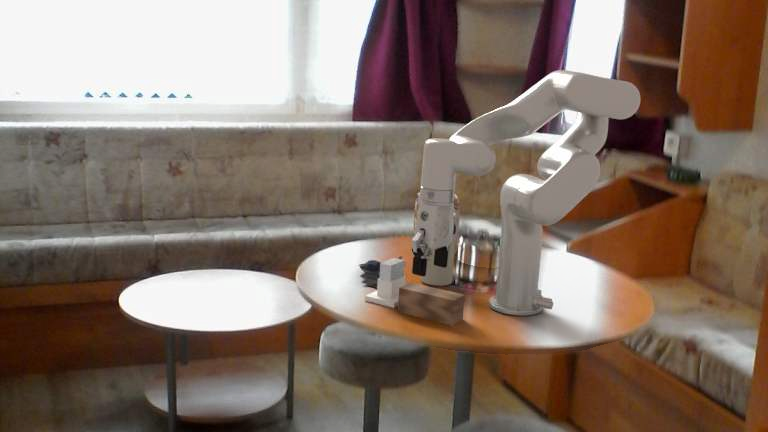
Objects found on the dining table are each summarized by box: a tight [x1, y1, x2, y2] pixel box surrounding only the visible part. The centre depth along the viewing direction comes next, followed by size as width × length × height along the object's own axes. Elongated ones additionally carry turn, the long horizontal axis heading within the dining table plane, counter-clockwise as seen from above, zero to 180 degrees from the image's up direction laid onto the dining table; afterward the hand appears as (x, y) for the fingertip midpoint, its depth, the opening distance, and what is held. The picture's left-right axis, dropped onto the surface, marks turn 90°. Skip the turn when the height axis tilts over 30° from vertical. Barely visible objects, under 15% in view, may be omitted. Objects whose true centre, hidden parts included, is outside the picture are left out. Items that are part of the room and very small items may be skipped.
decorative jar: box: [412, 191, 461, 255], centre depth 251 cm, size 12×12×18 cm
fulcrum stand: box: [364, 257, 406, 309], centre depth 206 cm, size 8×10×9 cm
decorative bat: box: [358, 255, 403, 288], centre depth 225 cm, size 30×4×10 cm
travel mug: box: [420, 213, 456, 287], centre depth 220 cm, size 8×8×18 cm
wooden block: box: [397, 282, 465, 326], centre depth 197 cm, size 14×5×6 cm, turn 59°
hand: (429, 270), depth 195 cm, fingers open, 9 cm apart
